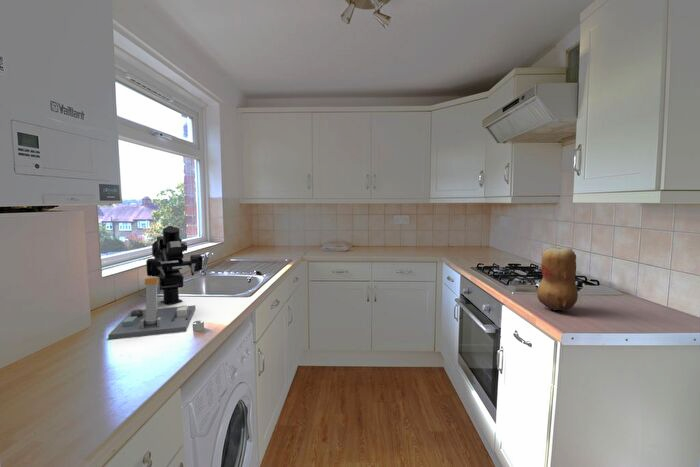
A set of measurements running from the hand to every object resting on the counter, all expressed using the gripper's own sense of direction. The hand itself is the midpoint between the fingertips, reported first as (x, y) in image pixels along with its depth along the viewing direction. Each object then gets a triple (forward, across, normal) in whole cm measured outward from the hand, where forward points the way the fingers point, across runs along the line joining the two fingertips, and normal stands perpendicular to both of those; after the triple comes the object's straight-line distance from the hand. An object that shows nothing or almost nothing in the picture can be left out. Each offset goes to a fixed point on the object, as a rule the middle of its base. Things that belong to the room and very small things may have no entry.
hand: (179, 276), depth 121 cm
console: (+4, -8, +15) cm, 18 cm away
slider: (+6, 0, +13) cm, 14 cm away
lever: (+10, -10, +10) cm, 18 cm away
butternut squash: (+76, +122, -10) cm, 144 cm away
